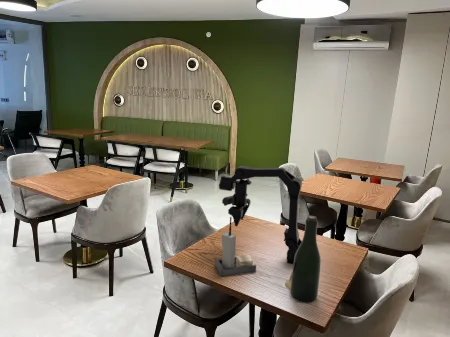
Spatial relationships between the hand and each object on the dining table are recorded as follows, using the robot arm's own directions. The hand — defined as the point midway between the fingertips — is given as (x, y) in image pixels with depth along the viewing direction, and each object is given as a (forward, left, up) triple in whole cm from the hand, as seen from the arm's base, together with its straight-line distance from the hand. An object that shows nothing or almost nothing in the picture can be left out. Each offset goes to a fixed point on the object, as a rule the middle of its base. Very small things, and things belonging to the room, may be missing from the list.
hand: (238, 222), depth 163 cm
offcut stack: (-8, +15, -15) cm, 22 cm away
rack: (-4, +18, -15) cm, 23 cm away
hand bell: (-31, +21, -15) cm, 40 cm away
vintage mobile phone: (-1, +20, -15) cm, 25 cm away
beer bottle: (-35, +27, -15) cm, 47 cm away
